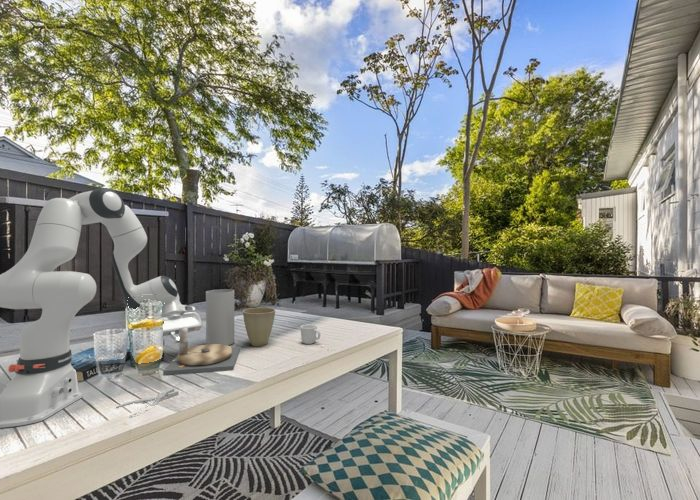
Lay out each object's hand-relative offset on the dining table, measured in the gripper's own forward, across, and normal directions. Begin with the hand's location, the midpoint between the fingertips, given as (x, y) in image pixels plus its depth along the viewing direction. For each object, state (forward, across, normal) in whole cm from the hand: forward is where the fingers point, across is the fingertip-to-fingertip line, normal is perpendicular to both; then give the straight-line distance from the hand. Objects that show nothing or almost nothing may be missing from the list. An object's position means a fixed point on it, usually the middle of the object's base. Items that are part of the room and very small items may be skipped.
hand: (179, 341), depth 136 cm
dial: (+10, +8, -1) cm, 12 cm away
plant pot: (+6, +35, +5) cm, 36 cm away
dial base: (+11, +8, 0) cm, 13 cm away
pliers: (+29, -18, -17) cm, 37 cm away
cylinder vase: (-3, +22, +14) cm, 26 cm away
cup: (+17, +53, -6) cm, 56 cm away
